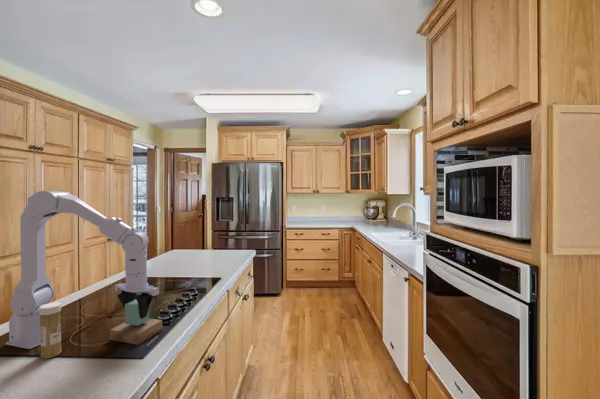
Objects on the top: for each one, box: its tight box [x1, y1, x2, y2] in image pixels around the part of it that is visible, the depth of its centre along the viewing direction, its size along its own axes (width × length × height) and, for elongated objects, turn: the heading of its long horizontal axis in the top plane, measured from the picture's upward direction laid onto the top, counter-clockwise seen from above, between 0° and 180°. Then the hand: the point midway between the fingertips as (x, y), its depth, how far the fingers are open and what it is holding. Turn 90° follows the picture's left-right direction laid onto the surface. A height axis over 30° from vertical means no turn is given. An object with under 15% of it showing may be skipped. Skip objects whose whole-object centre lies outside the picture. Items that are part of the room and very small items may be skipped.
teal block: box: [124, 298, 150, 326], centre depth 96 cm, size 4×4×6 cm
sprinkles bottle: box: [39, 302, 62, 359], centre depth 85 cm, size 5×5×14 cm
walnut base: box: [109, 318, 163, 346], centre depth 97 cm, size 10×10×3 cm
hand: (136, 316), depth 96 cm, fingers closed on teal block, 4 cm apart
